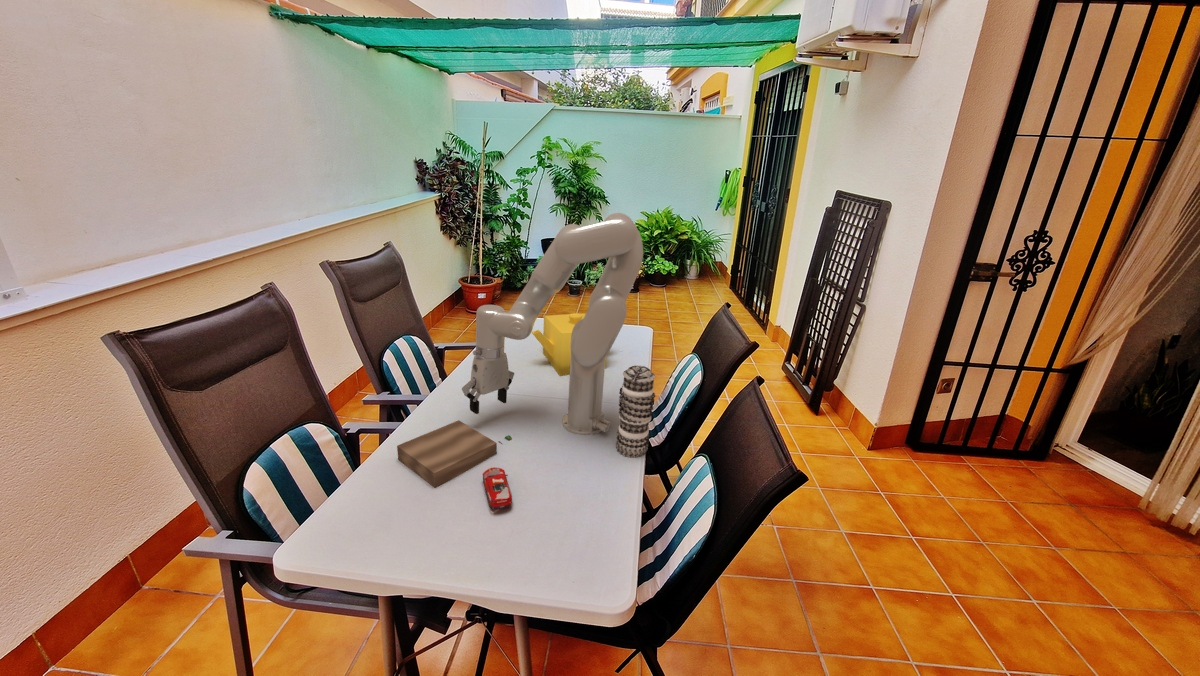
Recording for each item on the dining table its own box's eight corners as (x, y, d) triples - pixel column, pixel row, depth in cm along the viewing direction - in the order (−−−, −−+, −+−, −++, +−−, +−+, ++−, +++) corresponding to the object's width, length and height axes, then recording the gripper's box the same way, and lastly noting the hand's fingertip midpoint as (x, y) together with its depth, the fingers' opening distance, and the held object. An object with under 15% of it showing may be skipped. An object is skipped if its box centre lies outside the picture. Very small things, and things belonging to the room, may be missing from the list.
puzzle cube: (505, 440, 134) (505, 432, 134) (511, 444, 133) (512, 436, 132) (492, 446, 131) (492, 438, 130) (499, 450, 130) (499, 442, 129)
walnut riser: (496, 456, 126) (496, 442, 125) (435, 487, 113) (434, 473, 112) (459, 432, 136) (458, 420, 134) (398, 459, 122) (397, 445, 121)
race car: (481, 476, 117) (480, 462, 116) (504, 472, 119) (504, 458, 117) (488, 513, 106) (488, 499, 104) (514, 509, 108) (513, 494, 106)
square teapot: (519, 356, 189) (520, 303, 182) (591, 349, 201) (594, 299, 194) (546, 396, 159) (548, 335, 152) (628, 385, 171) (634, 328, 164)
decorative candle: (620, 467, 125) (628, 378, 117) (609, 447, 134) (616, 363, 125) (653, 463, 128) (663, 376, 119) (640, 444, 136) (649, 361, 128)
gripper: (472, 362, 124) (471, 422, 130) (523, 347, 137) (520, 402, 143) (454, 353, 128) (454, 411, 134) (505, 339, 141) (503, 393, 147)
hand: (488, 406), depth 138 cm, fingers open, 9 cm apart
